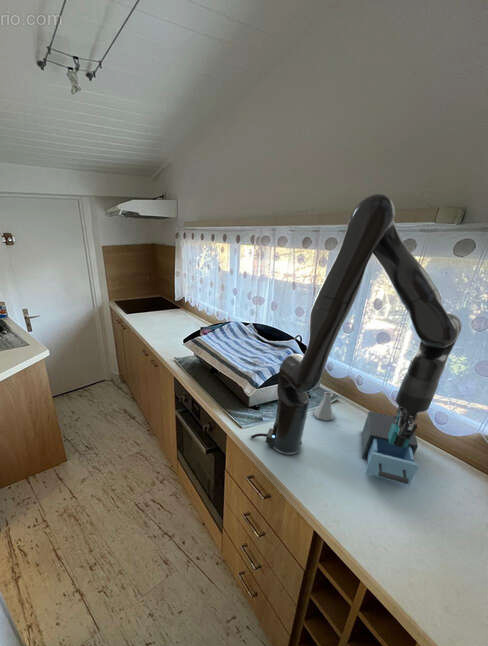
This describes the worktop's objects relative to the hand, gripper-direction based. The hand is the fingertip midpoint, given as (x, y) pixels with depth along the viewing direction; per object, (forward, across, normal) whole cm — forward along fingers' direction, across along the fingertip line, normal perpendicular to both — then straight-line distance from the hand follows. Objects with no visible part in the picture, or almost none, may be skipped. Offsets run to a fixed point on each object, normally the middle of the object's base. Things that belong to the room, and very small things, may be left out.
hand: (397, 440), depth 89 cm
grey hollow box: (+12, +11, 0) cm, 16 cm away
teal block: (0, 0, 0) cm, 0 cm away
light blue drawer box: (+11, -1, 0) cm, 11 cm away
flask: (+12, +24, +20) cm, 33 cm away
